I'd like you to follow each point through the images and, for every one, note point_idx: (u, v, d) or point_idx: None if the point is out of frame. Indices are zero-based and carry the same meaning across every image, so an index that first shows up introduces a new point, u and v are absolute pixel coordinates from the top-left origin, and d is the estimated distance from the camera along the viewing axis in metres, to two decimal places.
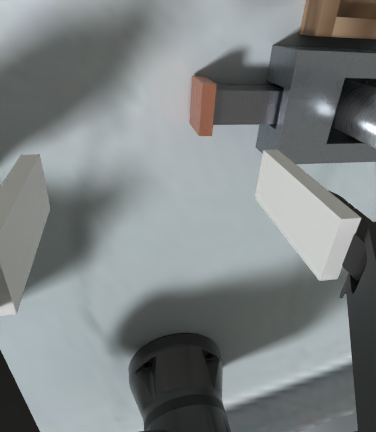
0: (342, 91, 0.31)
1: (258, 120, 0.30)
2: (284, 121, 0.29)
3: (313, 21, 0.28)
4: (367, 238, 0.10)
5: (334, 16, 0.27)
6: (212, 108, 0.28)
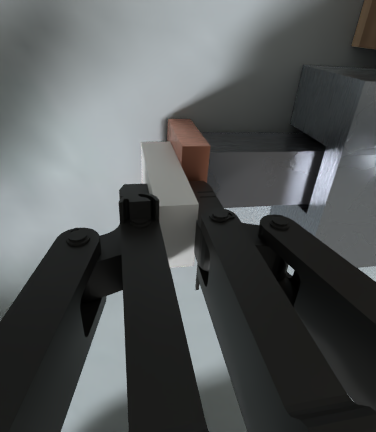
0: None
1: (285, 199, 0.17)
2: (325, 207, 0.16)
3: None
4: (204, 230, 0.10)
5: None
6: None
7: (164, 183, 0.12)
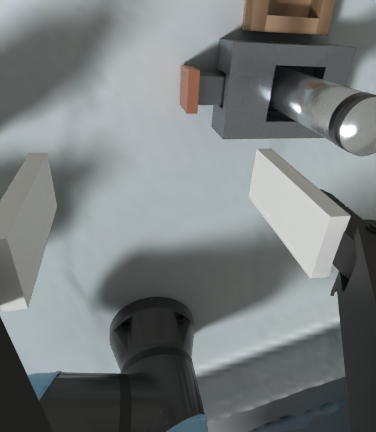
0: (278, 77, 0.37)
1: None
2: (227, 101, 0.35)
3: (249, 18, 0.34)
4: (357, 236, 0.10)
5: (265, 14, 0.33)
6: (197, 90, 0.35)
7: (14, 207, 0.10)
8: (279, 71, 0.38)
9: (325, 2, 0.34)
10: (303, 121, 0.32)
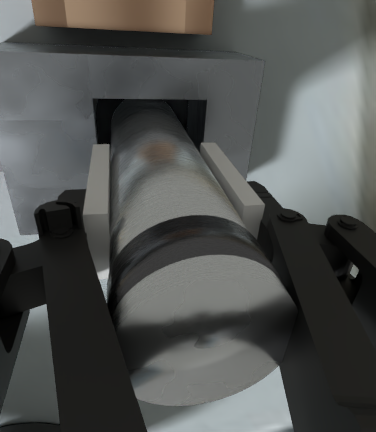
0: (120, 118, 0.19)
1: None
2: (4, 170, 0.17)
3: None
4: (271, 227, 0.10)
5: None
6: None
7: (101, 189, 0.11)
8: (129, 105, 0.20)
9: None
10: None
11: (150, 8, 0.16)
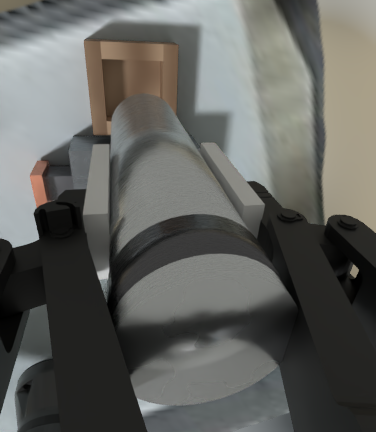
0: (120, 117, 0.19)
1: None
2: None
3: None
4: (270, 228, 0.10)
5: (104, 121, 0.34)
6: (43, 191, 0.35)
7: (101, 189, 0.11)
8: (129, 104, 0.20)
9: None
10: None
11: None
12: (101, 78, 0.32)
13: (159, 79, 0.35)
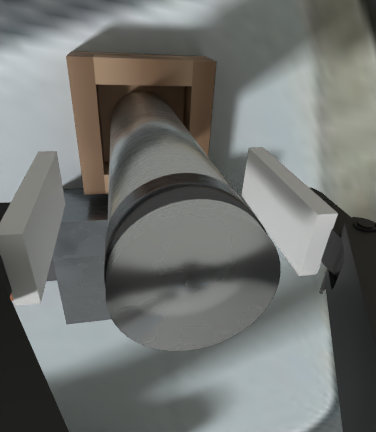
0: (119, 110, 0.20)
1: None
2: (59, 287, 0.25)
3: None
4: (344, 234, 0.10)
5: (101, 174, 0.23)
6: None
7: (27, 204, 0.10)
8: (128, 99, 0.21)
9: None
10: None
11: None
12: (95, 113, 0.20)
13: (182, 110, 0.24)
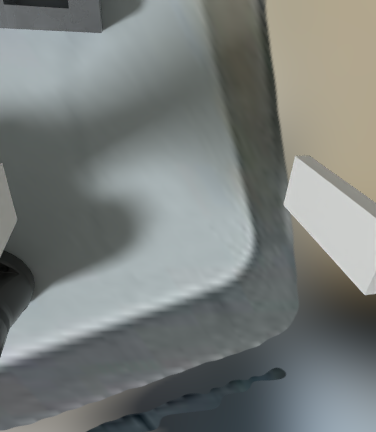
0: None
1: None
2: None
3: None
4: None
5: None
6: None
7: None
8: None
9: None
10: None
11: None
12: None
13: None
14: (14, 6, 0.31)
